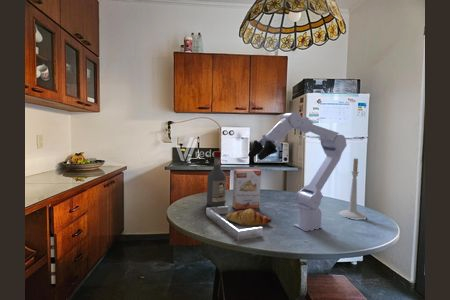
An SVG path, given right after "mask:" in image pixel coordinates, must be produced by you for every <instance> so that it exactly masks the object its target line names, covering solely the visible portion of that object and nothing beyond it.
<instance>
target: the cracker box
mask: <svg viewBox="0 0 450 300" xmlns="http://www.w3.org/2000/svg"><path fill="white" fill-rule="evenodd" d="M261 178H262V170H260V169H258V168H257V169H253V168H250V169H243V168H242V169H233V180H232V181H233V183H232V208H233V209H235V210H247V209H250V208H251V209H259V208H260V202H261V201H260V200H261V182H262V180H261Z"/></svg>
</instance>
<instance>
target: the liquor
mask: <svg viewBox="0 0 450 300" xmlns="http://www.w3.org/2000/svg"><path fill="white" fill-rule="evenodd" d="M213 156H214V160H213V161H214V162H213V168H212V170H211V171H210V172H209V173H208V174H207V178H206V179H207V183H206V184H207V185H206V204H207V206H210V207H220V206H226V201H227V199H226V194H227V193H226V192H227V175H226V173H225V172H224V171H223V169H222V167H221V157H222V151H218V150H216V151H214V153H213Z"/></svg>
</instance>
